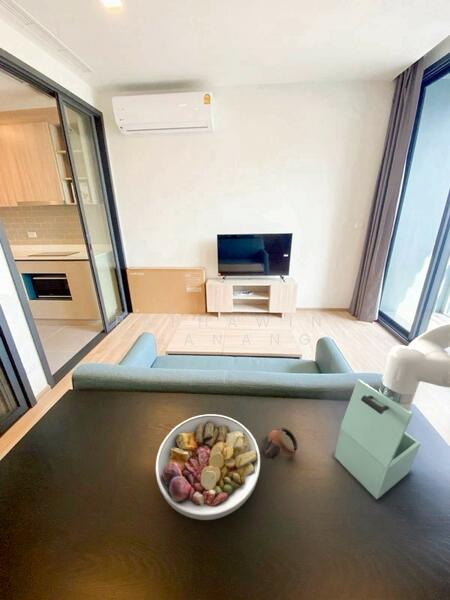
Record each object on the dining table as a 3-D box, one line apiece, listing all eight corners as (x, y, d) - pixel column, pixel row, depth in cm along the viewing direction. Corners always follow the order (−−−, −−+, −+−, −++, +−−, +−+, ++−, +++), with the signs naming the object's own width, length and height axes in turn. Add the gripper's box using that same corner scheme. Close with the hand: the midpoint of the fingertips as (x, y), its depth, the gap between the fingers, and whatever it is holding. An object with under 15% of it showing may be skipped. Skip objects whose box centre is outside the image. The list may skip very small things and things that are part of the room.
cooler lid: (359, 379, 68) (348, 381, 65) (413, 413, 56) (402, 418, 54) (342, 426, 72) (331, 430, 70) (388, 467, 61) (378, 473, 59)
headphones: (268, 433, 85) (283, 419, 81) (289, 458, 80) (305, 445, 77) (251, 451, 75) (266, 437, 72) (273, 481, 71) (290, 467, 67)
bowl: (203, 411, 93) (202, 395, 90) (276, 455, 77) (278, 436, 74) (135, 478, 70) (131, 459, 67) (219, 560, 54) (219, 539, 51)
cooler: (365, 436, 83) (373, 409, 79) (409, 472, 72) (420, 443, 68) (334, 456, 76) (340, 428, 72) (376, 499, 65) (387, 469, 61)
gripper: (392, 412, 58) (375, 464, 64) (429, 388, 66) (411, 437, 72) (362, 392, 64) (350, 441, 71) (400, 373, 72) (386, 419, 78)
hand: (381, 438), depth 71 cm, fingers closed on cosmetic box, 7 cm apart
